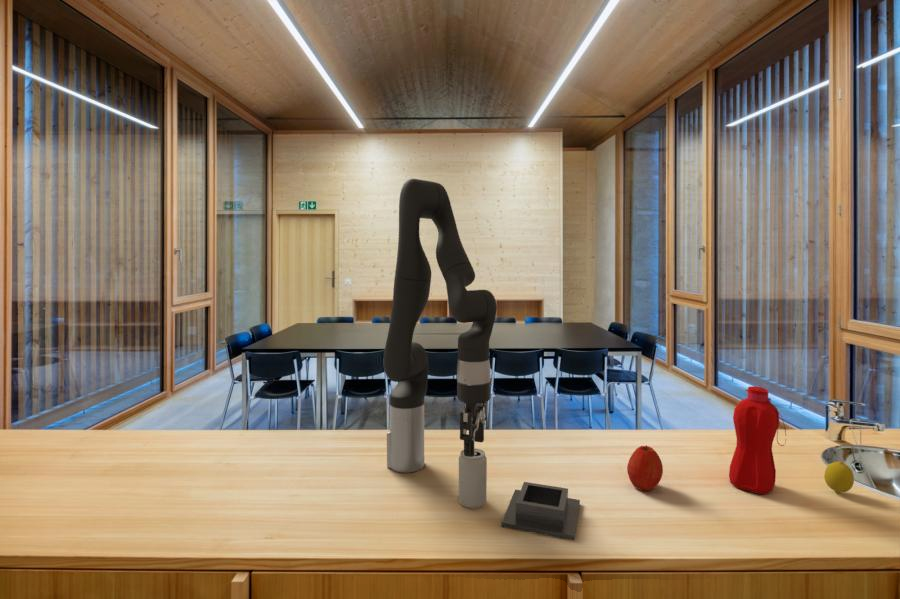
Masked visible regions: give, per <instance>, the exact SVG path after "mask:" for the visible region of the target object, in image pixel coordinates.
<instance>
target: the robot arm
mask: <svg viewBox="0 0 900 599" xmlns="http://www.w3.org/2000/svg"><path fill="white" fill-rule="evenodd" d="M421 219H427V220H431V221H432V222H433V223H434V225H435V227H436V230H437V232H438V234H437V236H438V238H437V242H436V248H435V257H436V262H437V265H438V267H439V271H440V272H441V275H442V277H443V280H444V281H445V285H446V286H445V287H446V292H447V293H446V294H447V301H448V309H449V313H450V315H451V316H452V318H454V320H455V321H456V322H458V323H462V324H466V323H468V324H469V323H472V324H471V327H470V329H468V330H466V331H464V332H462V333H460V335H459V336H458V338H457V364H456V383H457V384H456V385H457V386H456V391H457V392H456V393H457V394H456V397H457V398H456V399H457V400H459V402H462V403H464V404H465V406H464V408H463V410H462V411H460V414H459V440H461V441H463V450H464V455H465V456H468V457H473V456H474V448H475V443H483V442H484V441H485V426H486V422H487V420H488V412H487V411H488V410H487V409H488V408H487V407H488V406H487V402H488V401H490V400H491V396H492V395H491V390H492V389H491V385H492V383H491V382H492V381H491V378H492V377H491V363H490V340H491V337H492V332H493V328H494V325H495V321H496V317H497V311H498V307H497V306H498V304H497V301H496V298H495V296H494V294H493V293H492V291H490V290H488V289H473V290H471V289H470V290H468V289H467V288H466V287H468V286H470V285H471V284H472V283H473V282H474V281H475V279H476V273H475V270H474V267H473V265H472V263H471V261H470V259H469V257H468V255H467V253H466V250H465V249H464V246H463V243H462V241H461V238H460V234H459V230H458V227H457V223H456V219H455V216H454V211H453V208H452V204H451V200H450V197H449V194H448V192H447V190H446V188H445V186H443V184H442V183H439V182H435V181H429V180H425V179H419V178H417V179H416V178H409V179H407V180H405V181H404V183H403V184H402V186H401V190H400V194H399V203H398V242H397V243H398V244H397V254H396V256H397V257H396V262H395V263H396V264H395V265H396V266H395V271H394V278H393V280H394V281H393V291H392V292H393V295H392V302H391V303H392V304H391V312H390V319H389V320H390V321H389V326H388V332H387V337H386V342H385V347H384V351H383V358H382V365H383V369H384V370H383V371H384V374H385V376H386V377H387V378H388V379H389V380H390V381H391V382H394V383H397V384H396V386H395V387H394V388H393V389H392V391H391V392H390V393H389V402H388V403H389V430H388V432H386V467H387V468H389V469H391V470H392V471H394V472H397V473H405V474H406V473H414V472H418V471H421V470H422V469H423V468H424V467H425V396H426V394H427V392H428V381H429V380H428V379H429V358H428V353H427V351H426V349H425V347H423V345H421V343H418V342H414V341H413V338H414V332H415V329H416V325H417V324H418V322H419V320H420V318H421V316H422V314H423V312H424V309H425V308H426V305H427V303H428V301H429V297H430V292H431V283H432V269H431V264H430V262H429V260H428V257H427V254H426V252H425V250H424V248H423V246H422V243H421V237H420V222H421ZM467 431H468V432H467Z"/></svg>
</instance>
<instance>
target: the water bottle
mask: <svg viewBox="0 0 900 599" xmlns="http://www.w3.org/2000/svg"><path fill="white" fill-rule="evenodd" d="M744 391H745V392H747V396H746V398H744V399H741V400H740V401H739V402H738V404H737V405H736V406H735V408H734V410H733V417H732V421H733V425H734V426H733V427H734V431H735V435H736V436H735V437H736V447H735V450H734V452H733V454H732V458H731V462H730V464H729V471H728V477H729V482H730V484H732V486H734V487H736V488H737V489H741V490H744V491H748V492H750V493H754V494H758V495H768V494H769V493H771V492H773V490H774V488H775V486H776V476H777V475H776V474H777V473H776V465H775V460H774V453H773V443H774V440H775V437H778V434H779V426H780V417H781V420H782V424H783V427H784V428H783V429H784V434H785V435H787V430H786V426H785V421H784V419H783V416H782V415H781V413H780V412H779V410H778V408H777V407H776V405H774V404H773V403H772V401H771V399H772V398H771V397H769V390H768V389H767V388H765V387H762V386H755V385H753V386H748V387H747V389H745V390H744ZM776 442H777V444H778V446H781V447H783V446H785V444H786V442H787V440H785V442H784V443H783V444H780V443H779V440H778V439H776Z"/></svg>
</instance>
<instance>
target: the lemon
mask: <svg viewBox="0 0 900 599" xmlns="http://www.w3.org/2000/svg"><path fill="white" fill-rule="evenodd" d="M824 470H825V471H824V481H825V483H826V484H825V485H827V487H828V488H829V489H830V490H832V491H833V492H835V494H841V493H847V492H848V491H850V490H852V488H853V486H854V481H855V477H854V472H853V470H852V469H851V467H850V466H848V465H847V464H846V463H844V462H843V461H840V460H838V461H833V462H830V463H829V464H828V465H826V468H825V469H824Z"/></svg>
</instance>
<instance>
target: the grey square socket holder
mask: <svg viewBox="0 0 900 599" xmlns="http://www.w3.org/2000/svg"><path fill="white" fill-rule="evenodd" d="M580 504H581V499H578V498H577V499H576V498H571V497H569V488H565V487H561V486H554V485H549V484H548V485H547V484H540V483H533V482H528V481H523V483H522V487H521V489H515V490H514V492H513V493H512V496H511V499H510V501H509V503H508V506H507V509H506V510H505V513H504V516H503V518H502V521H500V522H501V523H500V524H501V525H500V526H501V528H504V529H505V528H506V529H510V530H516V531H521V532H527V533H531V534H537V535H543V536H547V537H548V536H549V537H553V538H559V539H565V540H570V541H575V540H576V533H577V526H578V521H579V520H578V518H579V513H580V512H579V511H580Z"/></svg>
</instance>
